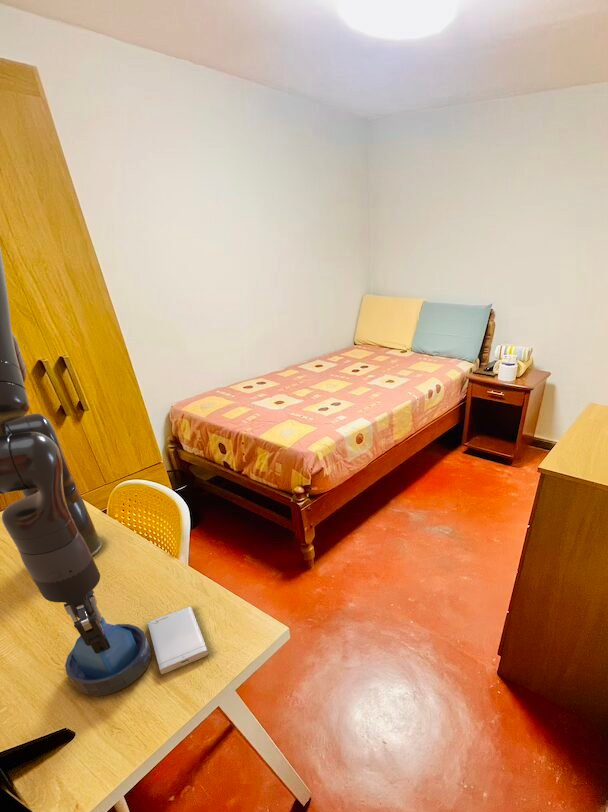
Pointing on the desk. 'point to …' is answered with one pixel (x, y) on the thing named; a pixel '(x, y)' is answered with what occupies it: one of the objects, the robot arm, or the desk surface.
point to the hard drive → (177, 640)
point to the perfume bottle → (106, 652)
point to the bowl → (116, 680)
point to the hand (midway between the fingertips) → (99, 636)
